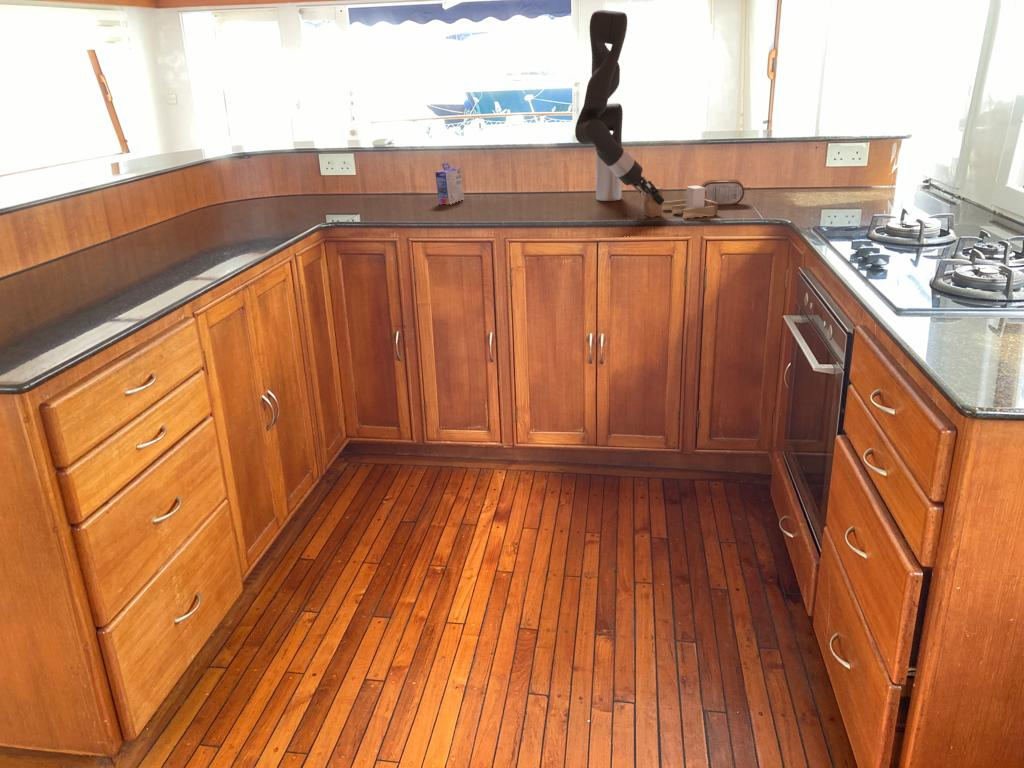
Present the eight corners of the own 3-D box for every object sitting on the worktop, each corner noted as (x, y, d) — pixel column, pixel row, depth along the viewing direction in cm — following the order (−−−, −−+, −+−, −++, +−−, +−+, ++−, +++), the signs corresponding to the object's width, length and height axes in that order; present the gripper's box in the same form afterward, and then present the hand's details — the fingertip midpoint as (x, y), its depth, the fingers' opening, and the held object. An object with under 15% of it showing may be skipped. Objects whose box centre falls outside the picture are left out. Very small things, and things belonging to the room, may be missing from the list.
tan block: (643, 214, 265) (644, 187, 261) (655, 213, 266) (655, 186, 262) (650, 217, 260) (651, 189, 257) (661, 216, 261) (662, 188, 258)
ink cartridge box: (452, 199, 308) (450, 161, 303) (464, 200, 306) (461, 161, 300) (437, 204, 301) (434, 165, 295) (449, 205, 298) (446, 165, 292)
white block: (685, 214, 262) (686, 186, 259) (696, 213, 263) (697, 185, 260) (692, 217, 258) (693, 188, 254) (703, 215, 259) (705, 187, 255)
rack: (662, 210, 269) (662, 198, 268) (694, 207, 272) (694, 195, 271) (683, 219, 256) (684, 206, 254) (717, 215, 258) (717, 202, 257)
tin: (742, 203, 275) (744, 178, 272) (744, 205, 272) (746, 180, 269) (698, 204, 276) (699, 180, 273) (699, 206, 274) (700, 181, 270)
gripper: (642, 160, 247) (676, 195, 255) (623, 155, 260) (656, 189, 268) (626, 179, 248) (660, 214, 256) (608, 173, 261) (641, 206, 269)
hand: (658, 201), depth 262 cm, fingers closed on tan block, 5 cm apart
